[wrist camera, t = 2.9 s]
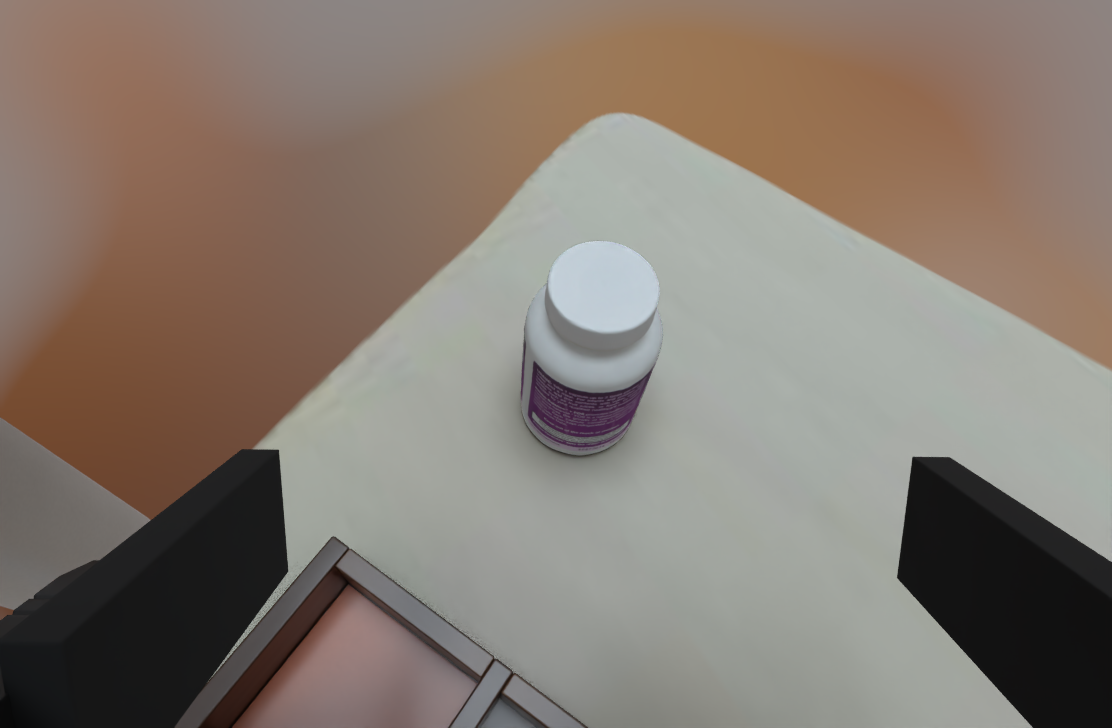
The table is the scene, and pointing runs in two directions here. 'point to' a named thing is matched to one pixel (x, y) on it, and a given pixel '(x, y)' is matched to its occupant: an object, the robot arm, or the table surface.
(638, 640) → the table surface
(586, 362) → the pill bottle
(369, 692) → the grid
